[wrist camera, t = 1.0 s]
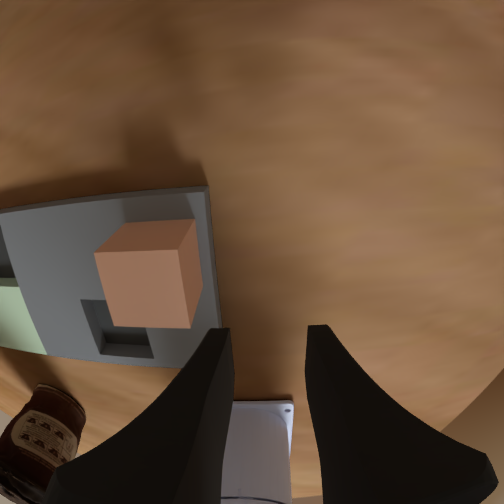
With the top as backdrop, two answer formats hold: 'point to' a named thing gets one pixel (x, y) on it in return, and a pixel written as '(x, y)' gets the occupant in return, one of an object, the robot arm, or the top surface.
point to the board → (94, 278)
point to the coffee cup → (38, 444)
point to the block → (151, 274)
